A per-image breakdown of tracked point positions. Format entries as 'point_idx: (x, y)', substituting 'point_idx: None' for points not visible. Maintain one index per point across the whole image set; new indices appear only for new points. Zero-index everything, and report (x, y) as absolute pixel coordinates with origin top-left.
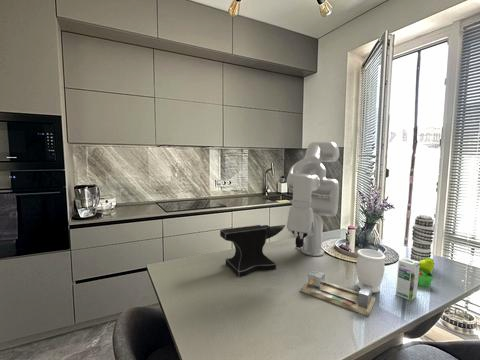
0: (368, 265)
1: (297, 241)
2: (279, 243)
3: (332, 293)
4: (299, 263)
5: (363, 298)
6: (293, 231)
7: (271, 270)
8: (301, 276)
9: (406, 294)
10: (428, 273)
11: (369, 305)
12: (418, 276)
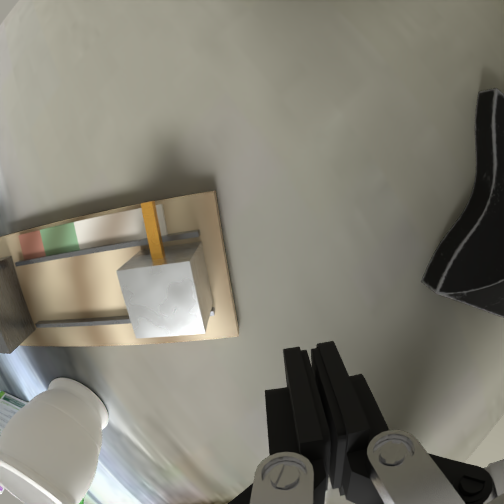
0: (11, 436)
1: (335, 398)
2: (469, 444)
3: (80, 253)
4: None
5: None
6: (473, 495)
7: (432, 257)
8: (294, 319)
9: (3, 401)
10: None
11: None
12: None
